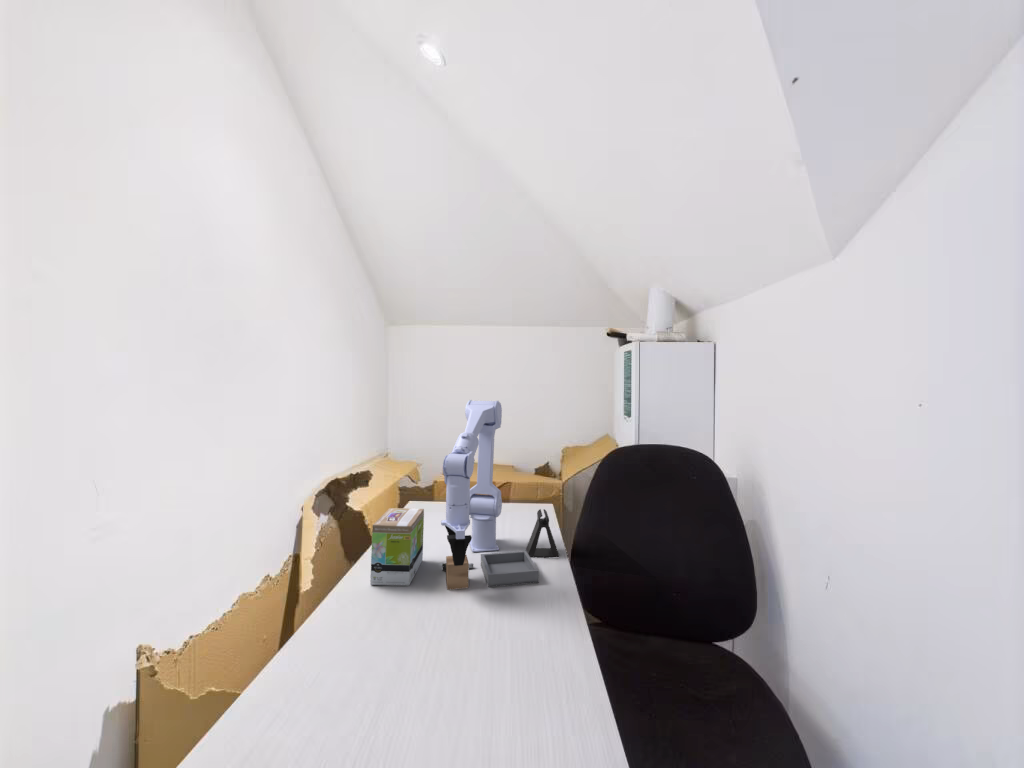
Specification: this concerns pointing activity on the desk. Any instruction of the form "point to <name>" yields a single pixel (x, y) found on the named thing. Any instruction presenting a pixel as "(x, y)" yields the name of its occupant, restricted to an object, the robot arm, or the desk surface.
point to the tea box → (397, 546)
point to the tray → (509, 569)
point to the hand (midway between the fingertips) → (457, 558)
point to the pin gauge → (445, 566)
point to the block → (456, 574)
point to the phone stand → (534, 538)
